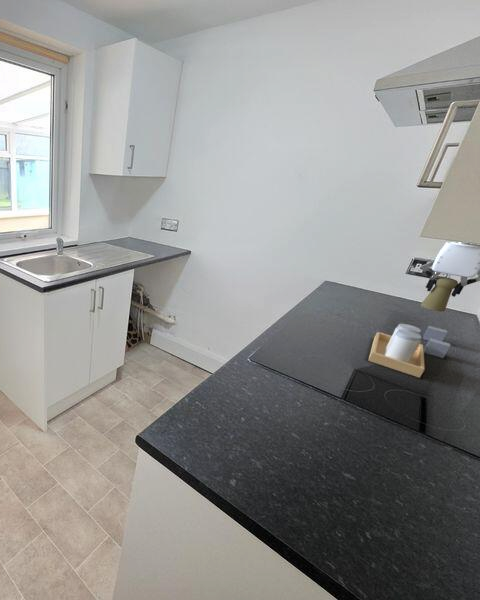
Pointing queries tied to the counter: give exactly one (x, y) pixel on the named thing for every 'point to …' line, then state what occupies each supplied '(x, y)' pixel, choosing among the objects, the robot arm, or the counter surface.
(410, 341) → the salt shaker
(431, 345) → the grey slab front
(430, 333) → the grey slab back
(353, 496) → the counter surface
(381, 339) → the shaker tray
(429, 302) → the cork
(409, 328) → the cylinder
